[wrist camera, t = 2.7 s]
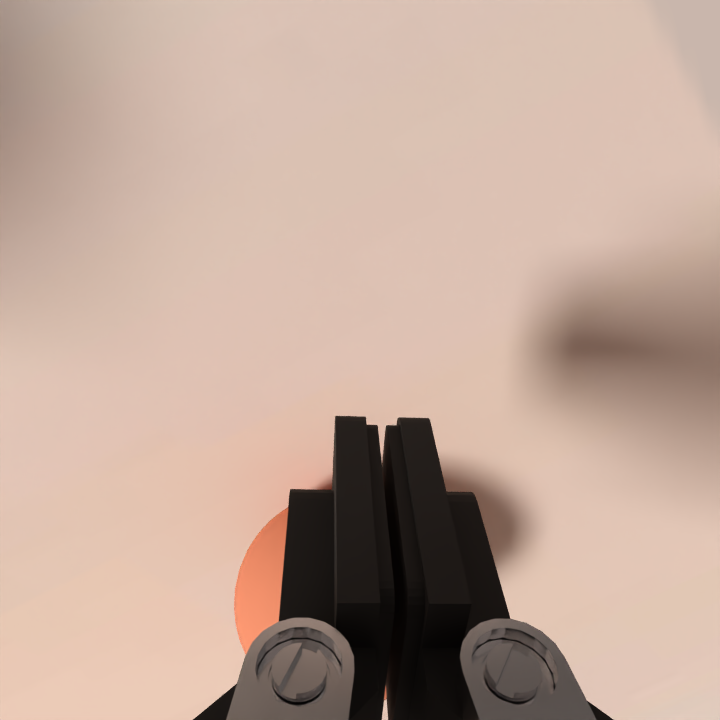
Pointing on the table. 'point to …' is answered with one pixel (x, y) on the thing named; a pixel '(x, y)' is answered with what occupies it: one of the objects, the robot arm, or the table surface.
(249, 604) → the ball
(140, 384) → the table surface
